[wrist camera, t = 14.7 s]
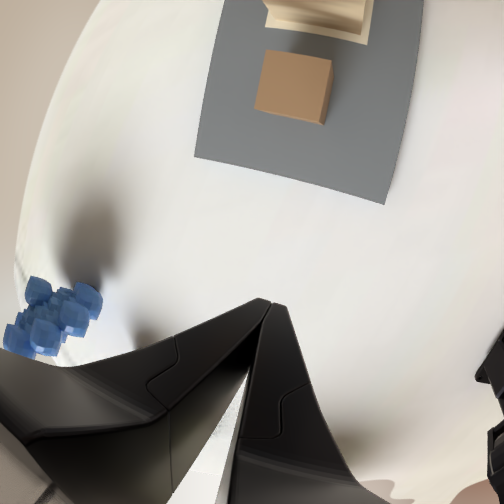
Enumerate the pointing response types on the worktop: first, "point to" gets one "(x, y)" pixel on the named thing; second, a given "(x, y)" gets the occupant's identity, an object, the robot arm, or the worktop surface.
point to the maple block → (320, 13)
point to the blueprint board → (351, 106)
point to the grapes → (51, 318)
